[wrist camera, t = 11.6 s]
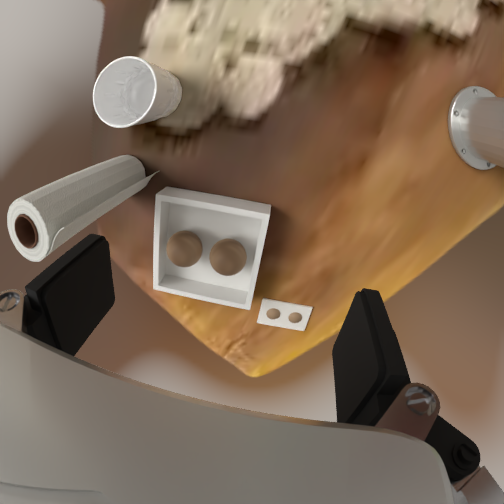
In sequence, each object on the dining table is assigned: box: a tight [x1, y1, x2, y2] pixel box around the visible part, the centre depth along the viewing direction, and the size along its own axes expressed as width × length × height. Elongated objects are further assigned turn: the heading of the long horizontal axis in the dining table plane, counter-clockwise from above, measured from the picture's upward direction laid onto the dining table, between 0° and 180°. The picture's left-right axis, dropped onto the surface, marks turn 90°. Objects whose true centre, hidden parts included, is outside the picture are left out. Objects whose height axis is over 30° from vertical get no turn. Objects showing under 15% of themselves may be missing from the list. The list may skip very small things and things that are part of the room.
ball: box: [209, 238, 247, 276], centre depth 40 cm, size 5×5×5 cm
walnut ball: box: [166, 231, 203, 267], centre depth 40 cm, size 5×5×5 cm
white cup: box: [93, 56, 182, 128], centre depth 29 cm, size 8×8×10 cm
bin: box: [153, 187, 271, 310], centre depth 41 cm, size 15×15×4 cm
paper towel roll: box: [7, 155, 159, 262], centre depth 30 cm, size 7×6×21 cm
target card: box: [257, 298, 313, 331], centre depth 47 cm, size 8×5×1 cm, turn 80°
